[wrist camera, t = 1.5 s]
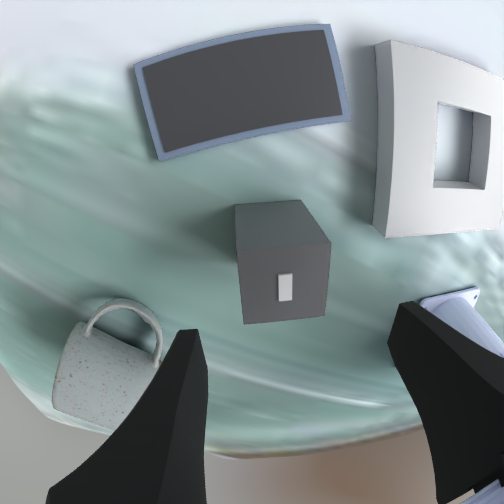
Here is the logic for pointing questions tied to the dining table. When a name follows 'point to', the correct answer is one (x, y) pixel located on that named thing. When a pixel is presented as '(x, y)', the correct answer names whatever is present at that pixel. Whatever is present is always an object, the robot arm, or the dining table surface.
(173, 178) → the dining table surface
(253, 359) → the dining table surface
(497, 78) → the outlet plate
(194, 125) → the phone
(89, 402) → the ceramic mug
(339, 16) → the dining table surface
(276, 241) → the block
